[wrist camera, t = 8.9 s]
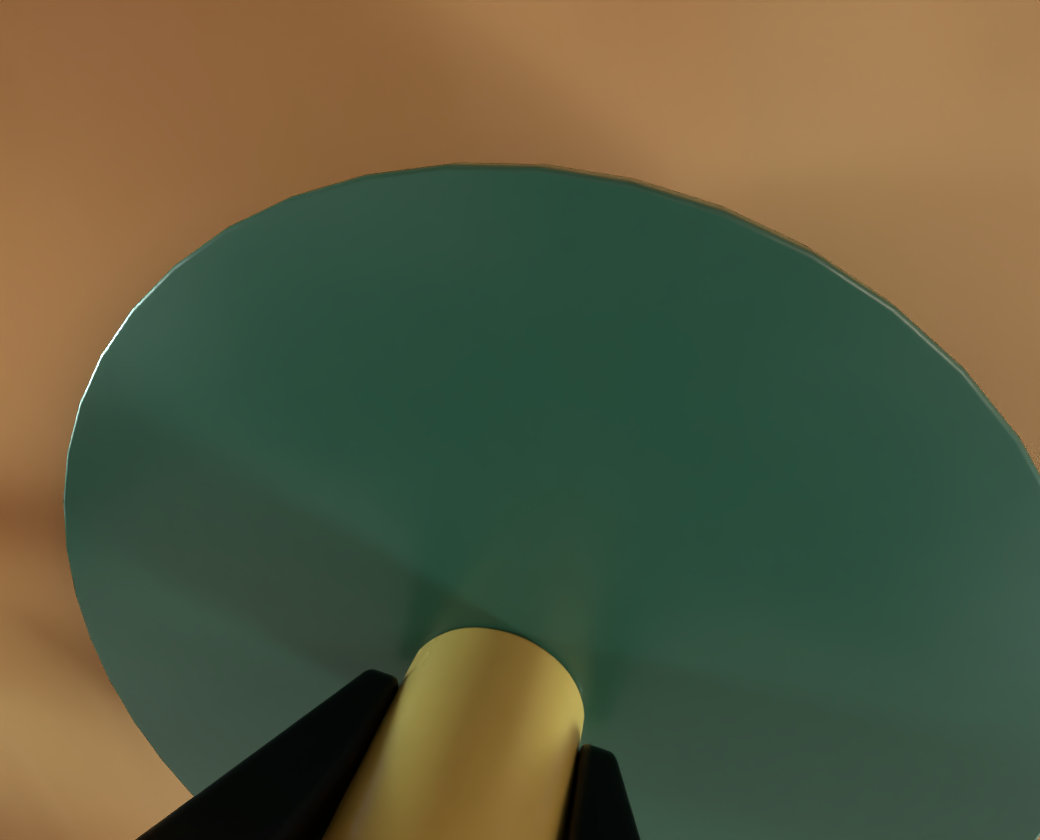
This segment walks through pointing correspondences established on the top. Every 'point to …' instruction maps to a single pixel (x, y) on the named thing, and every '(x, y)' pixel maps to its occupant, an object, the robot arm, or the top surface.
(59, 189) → the top surface
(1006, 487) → the tin lid
